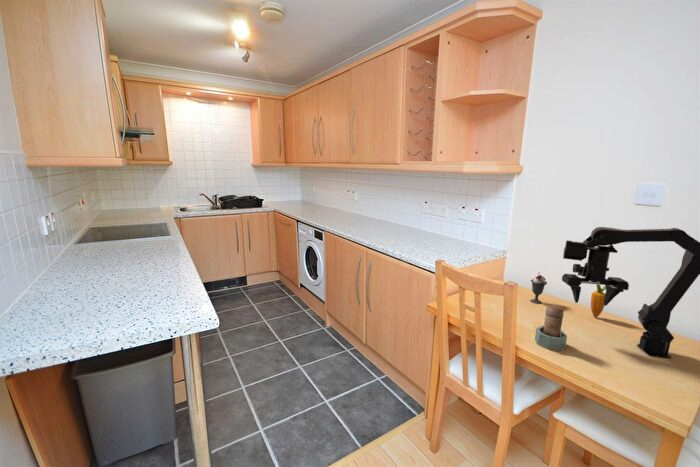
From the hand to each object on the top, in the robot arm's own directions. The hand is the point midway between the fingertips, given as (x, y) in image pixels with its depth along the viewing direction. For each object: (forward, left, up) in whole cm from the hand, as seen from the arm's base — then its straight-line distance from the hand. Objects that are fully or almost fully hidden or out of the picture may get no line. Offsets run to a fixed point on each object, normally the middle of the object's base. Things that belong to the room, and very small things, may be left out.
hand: (590, 303), depth 115 cm
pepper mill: (+15, +9, -12) cm, 21 cm away
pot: (+15, +9, -13) cm, 22 cm away
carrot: (-12, -19, -13) cm, 26 cm away
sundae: (+7, -31, -13) cm, 34 cm away
